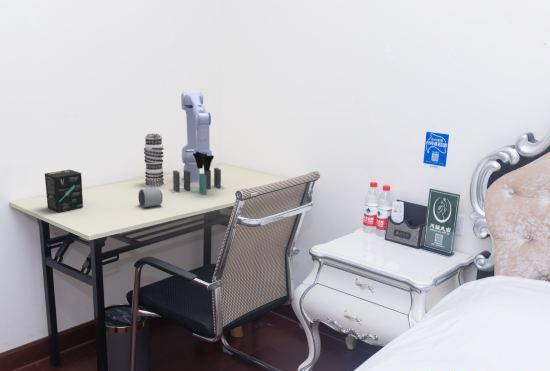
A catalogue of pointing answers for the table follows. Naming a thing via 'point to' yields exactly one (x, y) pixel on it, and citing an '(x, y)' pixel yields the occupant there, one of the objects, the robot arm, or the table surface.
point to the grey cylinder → (150, 197)
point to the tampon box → (64, 190)
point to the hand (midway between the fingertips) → (203, 169)
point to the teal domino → (202, 183)
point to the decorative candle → (153, 160)
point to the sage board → (194, 189)
